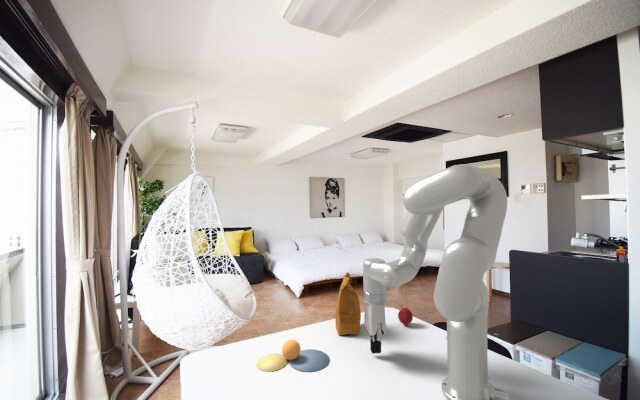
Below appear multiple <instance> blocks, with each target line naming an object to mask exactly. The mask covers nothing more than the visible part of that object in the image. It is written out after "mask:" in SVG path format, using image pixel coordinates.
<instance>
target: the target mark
mask: <svg viewBox="0 0 640 400" xmlns="http://www.w3.org/2000/svg"><path fill="white" fill-rule="evenodd" d="M288 362H289V366H291V367H292V368H293V369H294V370H295V371H298V372H303V373H314V372H318V371H321V370H323V369H325V368H326V367H327V366H328V365H330V364H329V363H330V356H329V354H327V353H326V352H324V351H322V350H319V349H310V348H309V349H302V350H300V354H299V356H298V357H297V358H296V359H294V360H288Z"/></svg>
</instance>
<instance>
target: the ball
mask: <svg viewBox="0 0 640 400" xmlns="http://www.w3.org/2000/svg"><path fill="white" fill-rule="evenodd" d="M300 351H301V345H300V343H299V342H298V341H297V340H295V339H288V340H286V341H285V342H283V345H282V348H281V352H282V355H283V356H284V357H285V358H286V359H288V361H289V360H294V359H296V358H297V357H298V356H299V354H300Z"/></svg>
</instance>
